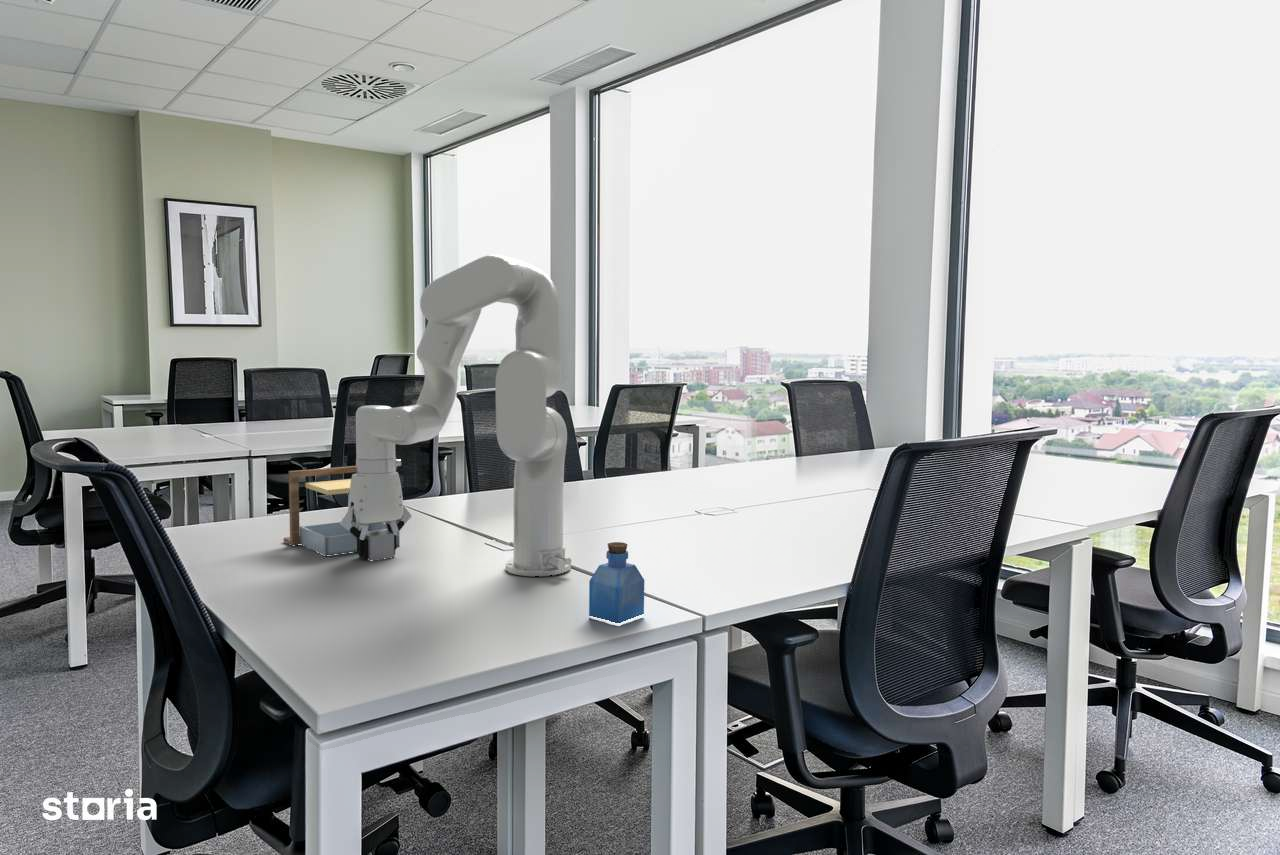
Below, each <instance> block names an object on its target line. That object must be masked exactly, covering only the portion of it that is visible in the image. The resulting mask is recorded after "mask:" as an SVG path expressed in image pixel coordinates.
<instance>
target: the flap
mask: <svg viewBox="0 0 1280 855" xmlns="http://www.w3.org/2000/svg"><path fill="white" fill-rule="evenodd" d="M304 483H305V488H306V489H309V490H311V491H315V492H318V493H321V494H324V495H327V496H331V495H340V494H341V495H342V494H349V490H350V483H351V478H345V479H334V480H321V481H312V482H304Z"/></svg>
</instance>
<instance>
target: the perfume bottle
mask: <svg viewBox="0 0 1280 855" xmlns="http://www.w3.org/2000/svg"><path fill="white" fill-rule="evenodd" d="M607 548H608V550H606V555H605V556H606V560H607V563H603V564H599V565H598V567H597V568H596V570H595V572H594V573H593V575H592V576H591V577H590V579H589V582H588V583H589V585H588V586H589V587H588V589H589V590H588V594H589V595H588V597H589V598H588V599H589V600H588V617H589V616H593V617H597V618H601V619H605V620H609V621H611V622H615V623H621V622H623V621H626V620H628V619H631V618H634V617H636V616H639V615H642V614H644V615H645V579H644V577H643V575H642V574H641V573H640V571H639V569H638V568H637V566H636V565H635V564H632V563H628V562H627V560H628V559H629V551H628V550H627V549H628V543H625V542H621V541H618V542H617V541H616V542H609V543H607Z"/></svg>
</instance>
